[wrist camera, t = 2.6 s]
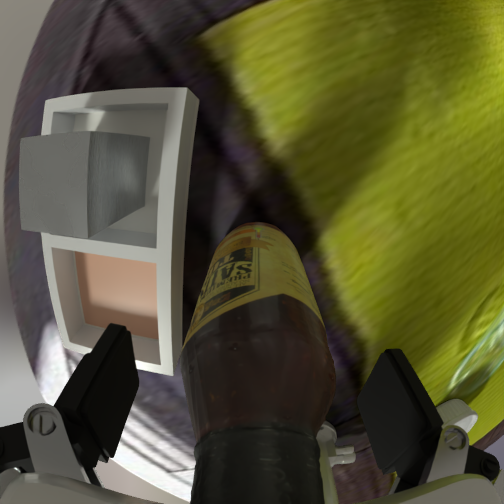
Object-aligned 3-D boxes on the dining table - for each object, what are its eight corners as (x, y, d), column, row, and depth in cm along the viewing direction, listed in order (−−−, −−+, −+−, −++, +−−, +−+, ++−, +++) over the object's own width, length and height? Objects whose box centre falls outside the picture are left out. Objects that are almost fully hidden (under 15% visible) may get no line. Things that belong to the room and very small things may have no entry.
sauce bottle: (240, 203, 20) (180, 560, 1) (311, 244, 21) (454, 516, 2) (200, 275, 22) (113, 548, 3) (267, 309, 23) (291, 570, 4)
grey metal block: (150, 137, 17) (90, 130, 10) (144, 205, 19) (88, 238, 11) (91, 137, 17) (20, 138, 9) (88, 201, 19) (21, 229, 11)
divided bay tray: (74, 105, 17) (45, 100, 13) (199, 100, 17) (187, 87, 14) (82, 325, 24) (64, 347, 20) (182, 346, 24) (173, 375, 21)
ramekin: (470, 401, 31) (482, 421, 26) (423, 440, 34) (432, 460, 29) (456, 385, 29) (471, 408, 24) (399, 430, 31) (409, 455, 27)
